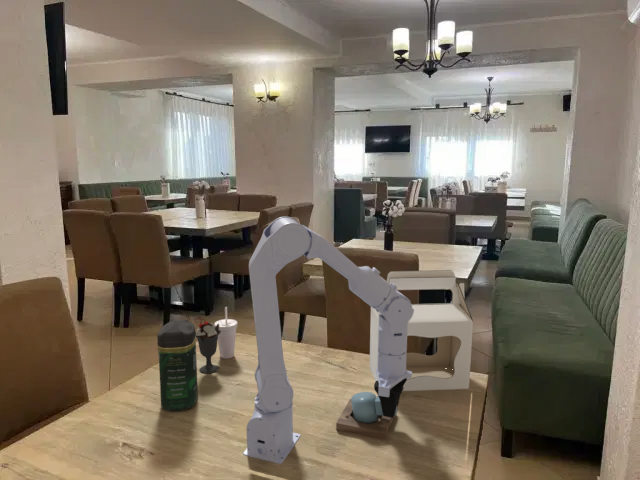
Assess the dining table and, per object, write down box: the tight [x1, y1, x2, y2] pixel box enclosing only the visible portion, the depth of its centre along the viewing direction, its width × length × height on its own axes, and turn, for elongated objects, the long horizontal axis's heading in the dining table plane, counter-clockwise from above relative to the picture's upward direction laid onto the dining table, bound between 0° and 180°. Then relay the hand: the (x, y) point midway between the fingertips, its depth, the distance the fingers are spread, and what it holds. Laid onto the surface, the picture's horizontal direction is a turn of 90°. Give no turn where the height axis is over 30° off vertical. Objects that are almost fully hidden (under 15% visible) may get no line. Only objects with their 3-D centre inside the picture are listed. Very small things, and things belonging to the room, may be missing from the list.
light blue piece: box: [350, 391, 399, 424], centre depth 95 cm, size 9×5×5 cm, turn 70°
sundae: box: [195, 315, 221, 375], centre depth 120 cm, size 7×7×15 cm
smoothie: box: [213, 306, 239, 360], centre depth 128 cm, size 6×6×14 cm
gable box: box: [369, 269, 474, 392], centre depth 114 cm, size 22×13×28 cm, turn 94°
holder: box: [335, 398, 394, 441], centre depth 97 cm, size 10×10×2 cm
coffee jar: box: [156, 319, 199, 412], centre depth 104 cm, size 10×8×19 cm
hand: (390, 412), depth 94 cm, fingers closed on light blue piece, 2 cm apart
